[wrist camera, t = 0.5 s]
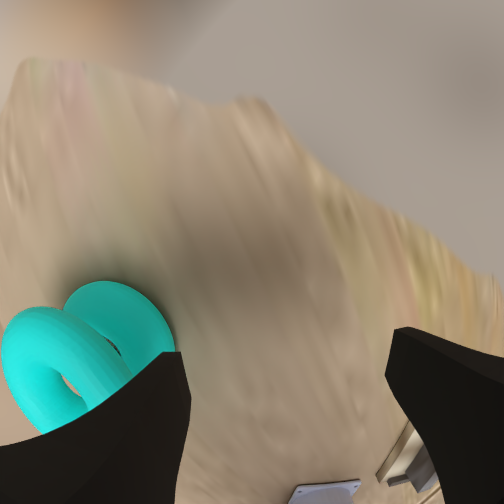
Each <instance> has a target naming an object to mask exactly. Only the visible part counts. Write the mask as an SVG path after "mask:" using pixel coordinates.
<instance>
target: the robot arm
mask: <svg viewBox="0 0 504 504" xmlns="http://www.w3.org/2000/svg"><path fill="white" fill-rule="evenodd" d="M385 377H386V380H387V382H388V384H389V387H390V389H391V391H392V393H393V395H394V397H395V399H396V400H397V402H398V403H399V405H400V407H401V408H402V410H403V411H404V413H405V414H406V416H407V417H408V419H409V420H410V422H411V424H412V425H413V427H414V428H415V430H416V431H417V433H418V434H419V436H420V438H421V439H422V441H423V443H424V445H425V447H426V449H427V451H428V453H429V456H430V458H431V460H432V463H433V465H434V468H435V471H436V474H437V476H438V479H439V482H440V486H441V489H442V493H443V497H444V501H445V504H504V358H502V357H498V356H493V355H489V354H486V353H482V352H479V351H476V350H473V349H470V348H467V347H464V346H461V345H458V344H456V343H453V342H451V341H448V340H445V339H443V338H440V337H438V336H435V335H432V334H430V333H427V332H424V331H421V330H419V329H415V328H412V327H404V328H399V329H394V334H393V339H392V344H391V349H390V354H389V358H388V363H387V367H386V371H385ZM190 410H191V394H190V390H189V386H188V382H187V378H186V373H185V369H184V365H183V360H182V355H181V352H162V353H160V354H159V355H158V356H157V357H156V358H155V359H154V360H152V361H151V362H150V363H149V364H148V365H147V366H146V367H145V368H144V369H143V370H141V371H140V372H139V373H138V374H137V375H136V376H135V377H133V378H132V379H131V380H130V381H129V382H128V383H127V384H125V385H124V386H123V387H122V388H120V389H119V390H118V391H116V392H115V393H114V394H113V395H111V396H110V397H109V398H107V399H106V400H105V401H103V402H102V403H101V404H99V405H98V406H96V407H95V408H93V409H92V410H90V411H89V412H87V413H85V414H84V415H82V416H80V417H79V418H77V419H75V420H73V421H71V422H69V423H67V424H65V425H63V426H61V427H59V428H57V429H54V430H52V431H50V432H48V433H45V434H43V435H40V436H38V437H34V438H32V439H28V440H25V441H22V442H18V443H14V444H10V445H5V446H0V504H174V502H175V489H176V481H177V475H178V471H179V466H180V462H181V457H182V453H183V449H184V444H185V440H186V435H187V431H188V426H189V421H190ZM361 483H362V482H361V480H356V481H348V482H341V483H331V484H320V485H302V486H298V487H297V488H296V490H295V491H294V493H293V495H292V497H291V499H290V501H289V502H288V504H354V503H353V500H352V495H353V494H354V493H355V491H356V490H357V489H358V487H359V486H360V484H361Z"/></svg>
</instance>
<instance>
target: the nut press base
mask: <svg viewBox="0 0 504 504" xmlns="http://www.w3.org/2000/svg"><path fill="white" fill-rule="evenodd" d="M376 477H377V479H378V482H379V484H380V483H384V482H387V483H388V485H389V487H391V486H394V485H398V484H402V483H406V482H409V481H411V483H412V485H413V486H414V488H415V490H416V491H417V493H420V492H423V491H425V490H428V489H430V488H431V487H432V486H433V485H434V484H435V483H436V481H437V480H438V476H437V474H436V471H435V468H434V465H433V463H432V460H431V458H430V456H429V453H428V451H427V449H426V447H425V445H424V443H423V441H422V439H421V438H420V436H419V434H418V433H417V431H416V430H415V428H414V427H413V425H412V424H411V422H410V420H409V422H408V424H407V426H406V428H405V429H404V431H403V433H402V435H401V437H400V438H399V440H398V442H397V443H396V445H395V447H394V448H393V450H392V452H391V453H390V455H389V456H388V458H387V460H386V461H385V463H384V464H383V466H382V467H381V469H380V470H379V472H378V473H377V475H376Z"/></svg>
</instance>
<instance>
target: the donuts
mask: <svg viewBox="0 0 504 504" xmlns="http://www.w3.org/2000/svg"><path fill="white" fill-rule="evenodd" d="M104 337H106V338H107V339H109V340H110V341H111V342H112V343H114V345H115V346H116V347H117V349H118V350H119V352H120V354H121V356H120V355H119V354H118V352H117V351H116V350H115V349H114V348H113V347H112V346H111V344H110V343H109V342H108V341H107V340H106V339H105V338H104ZM162 352H175V345H174V340H173V337H172V334H171V331H170V329H169V327H168V325H167V323H166V321H165V319H164V318H163V316H162V315H161V313H160V312H159V311H158V309H157V308H156V307H155V306H154V305H153V304H152V303H151V302H150V301H149V300H148V299H147V298H146V297H145V296H143V295H142V294H141V293H139V292H138V291H136V290H134V289H133V288H131V287H129V286H126V285H124V284H121V283H117V282H111V281H96V282H92V283H89V284H86V285H84V286H82V287H80V288H79V289H77V290H76V291H75V292H74V293H73V294H72V295H71V296H70V297H69V298H68V300H67V302H66V303H65V305H64V308H63V310H59V309H56V308H52V307H42V306H41V307H32V308H28V309H26V310H23V311H21V312H20V313H18V314H17V315H16V316H15V317H14V318H13V319H12V320H11V321H10V322H9V324H8V325H7V328H6V330H5V332H4V335H3V338H2V346H1V359H2V367H3V371H4V375H5V378H6V381H7V384H8V387H9V389H10V391H11V393H12V395H13V397H14V399H15V401H16V402H17V404H18V405H19V407H20V409H21V410H22V411H23V413H24V414H25V415H26V417H27V418H28V419H29V420H30V422H31V423H32V424H33V425H34V426H35V427H36V428H37V429H38V430H39V431H40V432H41V433H42V434H45V433H48V432H50V431H52V430H54V429H57V428H59V427H61V426H63V425H65V424H67V423H69V422H71V421H73V420H75V419H77V418H79V417H80V416H82V415H84V414H85V413H87V412H89V411H90V410H92V409H93V408H95V407H96V406H98V405H99V404H101V403H102V402H103V401H105V400H106V399H107V398H109V397H110V396H111V395H113V394H114V393H115V392H116V391H118V390H119V389H120V388H122V387H123V386H124V385H125V384H127V383H128V382H129V381H130V380H131V379H132V378H133V377H135V376H136V375H137V374H138V373H139V372H140V371H141V370H143V369H144V368H145V367H146V366H147V365H148V364H149V363H150V362H151V361H152V360H154V359H155V358H156V357H157V356H158V355H159V354H160V353H162ZM61 374H62V375H63V376H64V377H65V378H66V379H67V380H68V381H69V382H70V383H71V384H72V385H73V386H74V387H75V389H76V390H77V391H78V392H79V394H80V395H81V396H82V397H80V396H78V395H77V394H75V393H74V392H73V391H72V390H71V389H70V388H69V387H68V386H67V385H66V383H65V382H64V380H63V378H62V376H61Z"/></svg>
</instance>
